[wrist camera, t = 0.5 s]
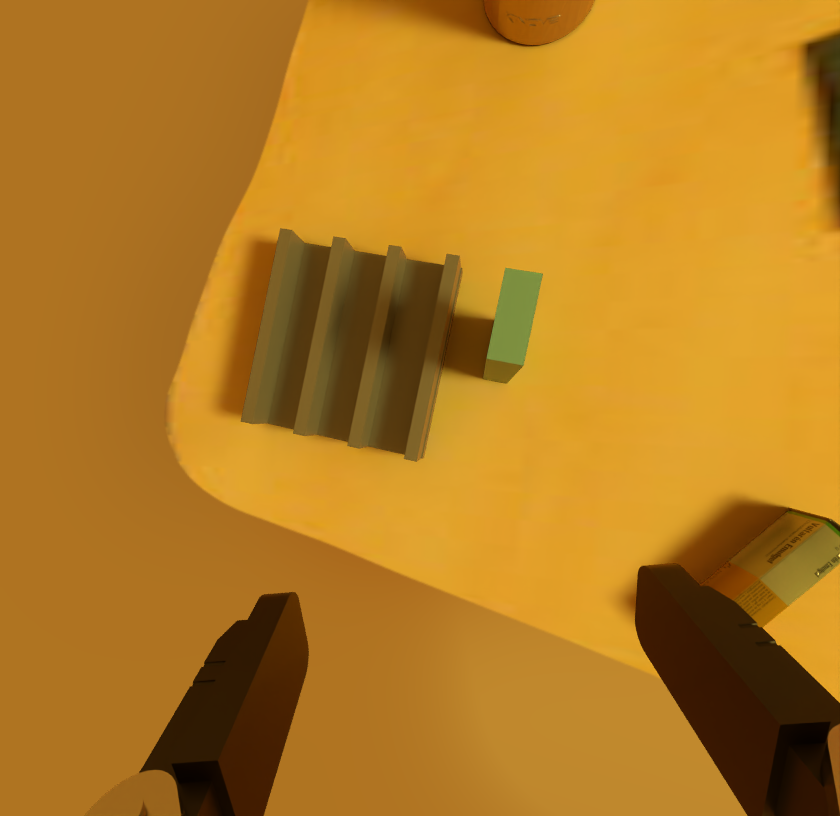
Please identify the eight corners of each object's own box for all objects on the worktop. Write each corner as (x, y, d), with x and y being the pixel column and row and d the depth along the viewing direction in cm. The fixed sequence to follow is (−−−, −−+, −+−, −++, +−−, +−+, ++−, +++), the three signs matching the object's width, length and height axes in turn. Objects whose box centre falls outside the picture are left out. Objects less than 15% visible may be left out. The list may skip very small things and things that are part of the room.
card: (495, 320, 34) (505, 267, 22) (519, 324, 33) (542, 273, 22) (482, 378, 34) (486, 358, 22) (506, 383, 33) (523, 365, 22)
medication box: (788, 503, 31) (833, 515, 27) (817, 530, 30) (868, 546, 26) (667, 608, 32) (694, 634, 28) (694, 635, 31) (725, 666, 27)
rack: (297, 246, 36) (279, 228, 33) (462, 272, 34) (460, 256, 31) (262, 420, 36) (239, 421, 33) (423, 457, 34) (417, 461, 31)
